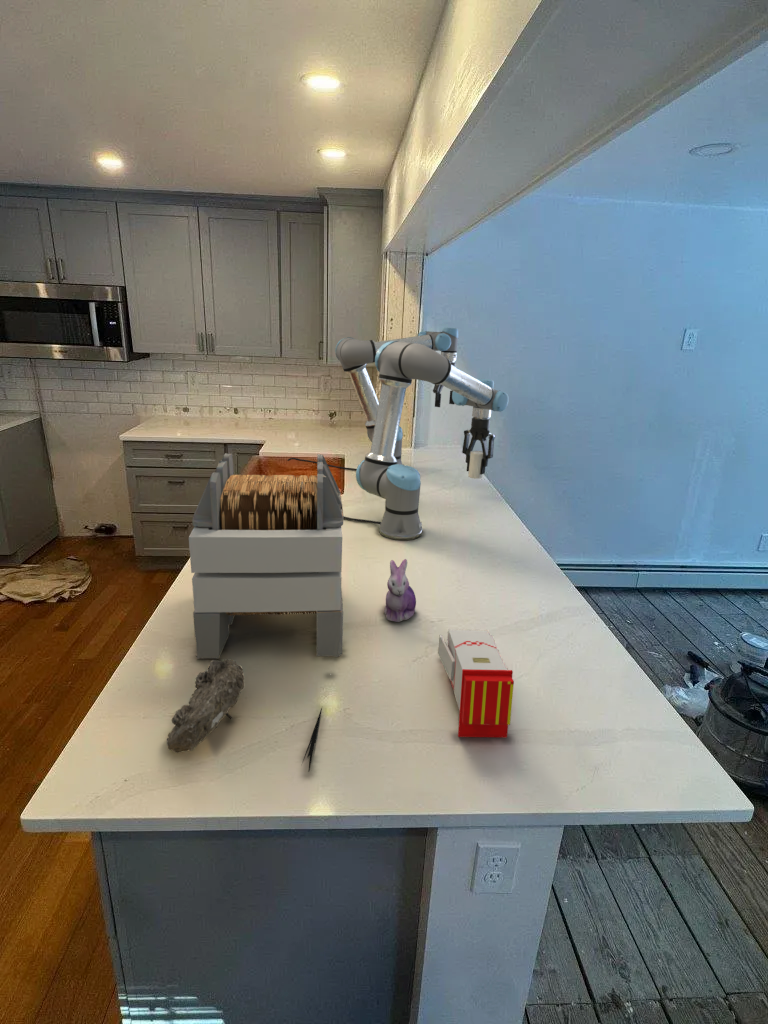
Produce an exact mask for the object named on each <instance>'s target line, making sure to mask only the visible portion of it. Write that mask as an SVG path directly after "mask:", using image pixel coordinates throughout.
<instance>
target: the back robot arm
mask: <svg viewBox="0 0 768 1024" xmlns="http://www.w3.org/2000/svg"><path fill="white" fill-rule="evenodd" d="M390 341H400V342H407V343H417V344H422V345H424V346H427V347H429V348H430V349H432V350H434V351H436V352H438V351H439V352H440V354H441V355H442V356H444V357H446V358H447V359H449V360H450V362H451V364H452V365H453V366H455V367H457V356H458V355H457V354H458V344H459V343H458V342H459V329H458V328H456V327H443V328H442V331H428V330H424V331H420V332H418V334H417V335H416V336H415V335H414V336H408V337H400V338H393V339H386V340H379V341H375V340H374V339H368V340H362V339H356V338H354V337H351V336H350V337H349V336H348V337H344V338H341V339H340V340H339V341H338V342H337V344H336V346H335V348H334V352H335V356H336V359H337V360H338V361H339V362H340V365H341V367H342V370H343V372H344V373H346V374H347V375H348V376H349V378H350V379H349V380H350V382H351V384H352V387H353V389H354V392H355V395H356V397H357V399H358V402H359V404H360V407H361V409H362V413H363V415H364V417H365V419H366V421H365V423H364V426H365V428H366V433H367V438H368V439H369V442H371V443H372V439H373V434H374V428H375V422H376V416H377V410H378V404H379V399H378V396H377V394H376V391H375V388H374V386H373V383H372V380H371V378H370V375H369V372H368V369H367V365H369V364H371V363H374V364H375V356H376V353H377V351H378V349H379V348H380V347H381V346H382V345H383V344H384V343H386V342H390ZM443 388H444V386H443V385H441V384H439V385H434V386H433V389H432V392H433V394H435V397H434V408H441V404H442V403H441V399H442V393H441V392H442V391H443ZM452 393H453V391H452V390H450V391H449V401H448V404H449V405H456V404H455V403H454V402H453V399H452ZM403 436H404V433H403V428H402V427H401V426H400V425H399V430H398V436H397V441H396V447H395V452H394V457H395V458H396V460H397V464H401V465H403V462H402V451H403V450H402V449H403ZM291 460H295V461H298V462H306V463H310V464H311V463H312V464H317V461H314V460H309V459H303V458H302V459H301V458H297V457H290V458H288V459H287V460H286V461H287V462H289V461H291ZM327 465H328V467H329V468H335V469H340V470H348V471H356V470H357V468H353V467H344V466H338V465H333V464H328V463H327Z"/></svg>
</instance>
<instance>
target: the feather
mask: <svg viewBox="0 0 768 1024" xmlns="http://www.w3.org/2000/svg"><path fill="white" fill-rule="evenodd" d="M329 675H330V676H331V675H332V674H331V673H330V674H329ZM322 710H323V707H321V708H320V710H319V713H318V716H317V719H316V723H315V725H314V728H313V731H312V733H311V737H310V739H309V742H308V745H307V748H306V751H305V754H304V757H303V760H302V763H301V767H302V765H303V763H304V761H305V758H308V759H309V760H308V762H307V763H308V764H307V766H308V771H310V770H311V766H312V765H311V764H312V760H313V757H315V756H314V755H315V751H316V749H315V746H317V739H318V733H319V729H320V722H321V717H322V712H323V711H322ZM313 754H314V755H313ZM306 755H307V757H306Z"/></svg>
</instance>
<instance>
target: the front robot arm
mask: <svg viewBox="0 0 768 1024" xmlns="http://www.w3.org/2000/svg"><path fill="white" fill-rule="evenodd" d="M374 366H375V367H376V370H377V372H378V373H379V374H378V380H379V382H380V383H381V387H380V394H379V399H378V401H379V404H378V410H377V416H376V422H375V428H374V434H373V439H372V442H371V445H370V451H369V452H368V453H366V454H365V456H364V459H363V460H362V461H361V462H360V463H359V464H358V465H357V467H356V469H357V470H355V480H356V483H357V485H358V486H359V488H361V489H362V490H364V491H365V492H366V493H369V494H372V495H375V496H377V497H379V498H381V499H384V500H385V504H384V505H385V507H384V508H385V509H384V513H383V515H382V519H381V521H377V520H370V519H361V518H354V517H349V516H344V515H343V517H344V520H347V521H353V522H358V523H359V522H361V523H367V524H375V525H378V533H379V534H380V535H381V536H382V537H385V538H387V539H389V540H395V541H410V540H415V539H418V538H420V537H421V536H422V535H423V523H422V521H421V518H420V515H419V507H420V506H419V505H420V496H421V495H420V494H421V482H422V481H421V473H420V471H419V470H417V468H415V467H413V466H410V465H406V464H402V465H401V464H397V460H396V458H395V457H394V452H395V447H396V441H397V436H398V430H399V426H400V424H401V419H402V412H403V407H404V402H405V397H406V390H407V388H409V387H410V386H412V383H413V380H417V381H423V382H428V383H431V384H432V385H434V386H435V385H439V384H441V385H443V387H445V388H447V389H449V390H450V391H453V393H452V399H453V402H454V403H455V404H454V405H456V406H462V407H464V406H469V407H472V413H471V416H472V418H471V421H470V422H471V423H470V425H471V426H470V428H469V429H465V430H463V444H462V452H461V453H462V454H463V455H465V463H466V472H469V464H470V454H471V451H474V447H475V445H476V443H477V442H478V441H479V443H480V445H481V451H482V452H483V457H484V458H483V459H482V462H481V471H480V474H482V475H484V474H485V473H486V468H487V467H488V464H489V460H490V459H492V458H493V457H494V448H495V447H494V446H495V439H496V436H497V435H496V434H495V433H494V434H493V433H491V432H490V431H491V430H490V425H491V419H490V418H491V416H492V411H493V412H500V413H501V412H503V411H505V410H506V409H507V407H508V405H509V400H510V399H509V395H508V393H507V392H505V391H502V390H497V389H495V382H494V380H493V379H489V378H476V377H474V376H473V375H470V374H469V373H467V372H465V371H463V370H461V368H458V367H457V366H456V367H455V366H453V365H452V364H451V362H450V360H449V359H447V358H446V357H444V356H442V355H441V353H439V352H438V351H434V350H432V349H430V348H429V347H427V346H424V345H422V344H417V343H407V342H400V341H390V342H386V343H384V344H383V345H382V346H381V347H380V348H379V349H378V351H377V353H376V356H375V362H374ZM470 437H471V438H470ZM487 438H488V439H487ZM487 442H488V443H487Z"/></svg>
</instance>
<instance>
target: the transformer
mask: <svg viewBox="0 0 768 1024" xmlns="http://www.w3.org/2000/svg"><path fill="white" fill-rule="evenodd" d="M316 457H317V458H316V462H317V465H316V466H317V467H316V475H309V476H308V475H304V474H303V475H302V474H301V475H298V476H295V475H293V474H272V475H265V474H242V475H241V474H235V472H234V458H233V453H227V452H225V453H224V454H223V456H222V458H221V460H219V461H218V464H217V466H216V468H215V469H214V470H215V471H214V472H211V475H210V477H209V479H208V481H207V484H206V486H205V488H204V489H203V493H202V494H201V496H200V499H199V502H198V504H197V507H196V509H195V510H194V513H193V516H192V518H191V520H192V526H193V528H192V530H191V532H190V534H189V536H188V547H189V558H190V559H189V560H190V572H191V574H193V575H192V577H191V584H192V585H191V586H192V597H193V609H194V610H193V612H192V614H193V615H192V617H193V618H192V619H193V629H194V640H195V648H196V655H195V657H196V659H197V660H203V659H220V657H221V654H222V652H223V649H224V648H225V645H226V643H227V640H228V638H229V636H230V626H232V625H233V621H234V618H235V616H250V615H251V616H253V615H254V616H256V615H257V616H260V615H263V616H265V615H267V616H269V615H275V616H276V615H277V616H278V615H305V614H306V615H308V614H309V615H311V614H313V615H316V657H335V658H337V657H340V656H342V655H343V647H344V646H343V644H344V643H343V642H344V641H343V640H344V639H343V638H344V608H343V607H344V606H343V605H344V604H343V595H342V579H343V577H342V567H343V566H342V565H343V564H342V562H343V530H342V529H343V528H342V527H343V525H344V520H345V519H344V517H345V516H344V510H343V500H342V494H341V493H342V492H341V491H340V488H339V486H338V484H337V482H336V480H335V477H334V475H333V474H332V471H331V469H330V466H328V465H329V464H328V462H327V461H326V458H325V456H324V454H320V453H317V455H316ZM327 464H328V465H327ZM343 516H344V517H343Z"/></svg>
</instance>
